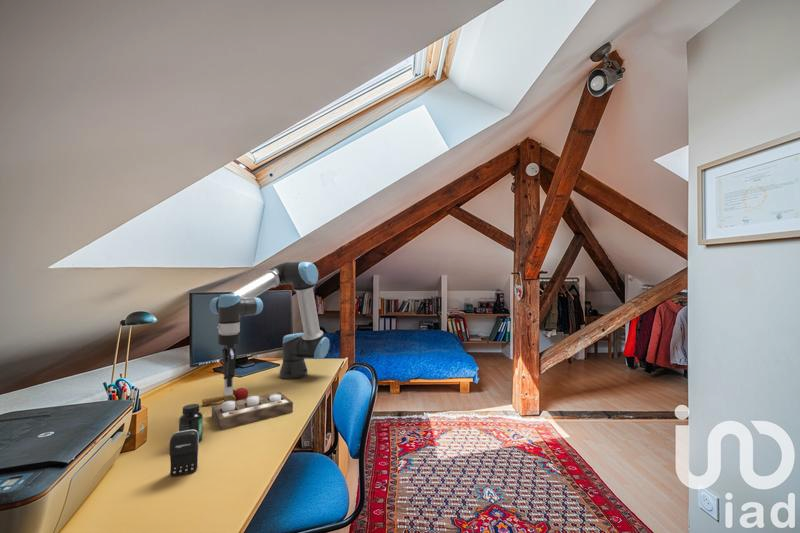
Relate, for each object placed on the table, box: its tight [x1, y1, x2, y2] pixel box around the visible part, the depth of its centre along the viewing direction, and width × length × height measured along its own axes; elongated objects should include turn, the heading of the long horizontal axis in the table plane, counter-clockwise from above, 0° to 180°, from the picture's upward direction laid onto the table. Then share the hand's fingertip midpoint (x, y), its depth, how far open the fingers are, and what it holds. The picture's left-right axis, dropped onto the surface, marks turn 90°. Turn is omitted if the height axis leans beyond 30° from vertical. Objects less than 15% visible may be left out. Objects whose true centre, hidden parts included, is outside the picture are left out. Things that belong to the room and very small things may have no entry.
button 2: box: [270, 394, 281, 402], centre depth 146 cm, size 5×5×4 cm
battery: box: [168, 429, 199, 477], centre depth 98 cm, size 7×4×11 cm, turn 114°
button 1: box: [221, 400, 236, 413], centre depth 135 cm, size 5×5×4 cm
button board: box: [211, 391, 294, 431], centre depth 140 cm, size 27×16×4 cm, turn 128°
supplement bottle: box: [178, 403, 204, 443], centre depth 117 cm, size 7×7×12 cm
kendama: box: [201, 387, 249, 407], centre depth 152 cm, size 8×6×18 cm
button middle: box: [247, 395, 260, 408], centre depth 140 cm, size 5×5×4 cm
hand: (228, 394), depth 135 cm, fingers closed
